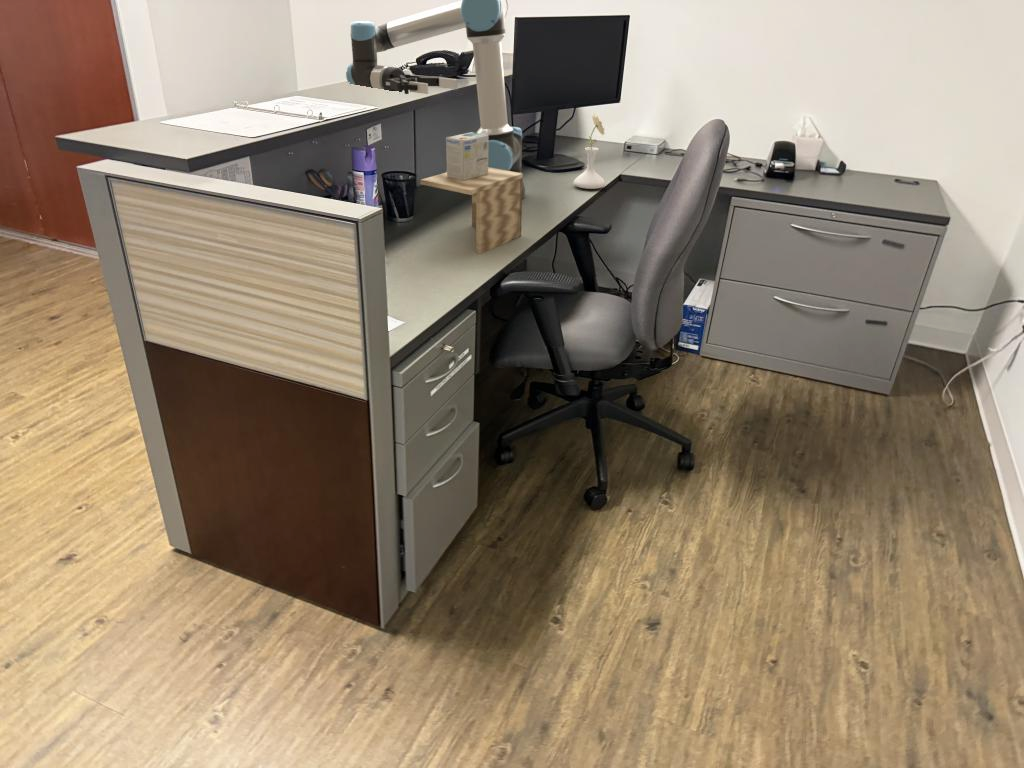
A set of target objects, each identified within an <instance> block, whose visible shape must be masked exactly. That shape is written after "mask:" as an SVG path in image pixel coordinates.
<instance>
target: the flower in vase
mask: <svg viewBox="0 0 1024 768" xmlns="http://www.w3.org/2000/svg"><path fill="white" fill-rule="evenodd" d="M591 118H592V121H593V123H594V127H593V129H592V131H591V134H590V135H589V136H588V137H589V140H590V141H589V145H590V147H589V146H588V147H585V148H584V150H585V152H586V155H587V166H586V169H585V170H584V171H583V172H581V174H579V175H578V176H577V177H576V178H574V181H573V184H574V185H575V186H576V187H578V188H581V189H586V190H596V189H601V188H603V187H604V186H605V185H606V182H605V180H604V179H603V177H601V176H600V174H598V173H597V172H596V170H595V157H596V155H597V152H598V151H599V150H600V148H598V147H593V144H595V143H597V140H596V139H594V140H593V141H592V135H593V133H594V131H595V129H597V131H598V132H599V134H601V135H602V136H604V135H605V134H606V132H605V127H604V126H603V125H602V121H601V120H600V119H599V117H598V115H595V114H594V113H593V114H592V116H591Z"/></svg>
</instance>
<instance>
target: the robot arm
mask: <svg viewBox="0 0 1024 768" xmlns="http://www.w3.org/2000/svg"><path fill="white" fill-rule="evenodd" d="M508 12H509V0H460V1H457V2H453V3H449V4H447V5H442V6H440V7H436V8H433V9H429V10H425V11H422V12H419V13H415V14H411V15H409V16H406V17H402V18H398V19H396V20H395V19H394V20H392V21H389V22H385V23H381V24H379V25H376V24H375V22H373V21H360V20H359V21H353V22H351V23H350V39H351V42H350V43H351V52H352V63H350V64H348V66H347V68H346V69H347V70H346V72H345V77H346V80H347V83H348V82H350V83H348V84H349V85H350V84H354V85H360V86H366V87H371V88H378V89H384V90H389V91H399V92H401V93H402V92H403V91H404V95H409V93H410V92H411V93H417V94H423V95H425V94H426V95H428V94H429V87H439V88H443V89H449V90H450V89H452V90H458V78H457V79H456V78H450V77H449V78H448V77H445V76H443V74H440V75H439V76H433V75H431V76H429V75H417V74H413V75H412V74H409V73H408V74H405V71H404V70H402V69H401V68H400V67H396V66H395V67H394V66H389V65H388V66H387V65H378V53H382V52H385V51H388V50H391V49H394V48H397V47H401V46H404V45H409V44H413V43H416V42H418V41H424V40H426V39H430V38H434V37H437V36H440V35H444V34H447V33H451V32H454V31H458V30H462V29H465V32H466V39H467V40H469V42H470V43H471V44H472V51H473V52H472V53H473V61H474V70H475V80H476V81H475V82H476V91H477V101H478V102H477V103H478V114H479V121H480V124H479V125H480V127H479V128H478V129H477V131H476V133H479V134H486V135H489V136H488V167H491V168H496V169H501V170H507V171H512V172H518V173H522V153H523V147H522V146H523V130H522V128H521V127H518V126H510V125H509V122H508V121H509V120H508V111H507V99H506V85H505V84H506V83H505V73H504V62H503V61H504V60H503V50H502V47H503V46H502V41H503V38H504V37H505V36H506V23H505V22H506V21H505V20H506V17H507V15H508V14H509V13H508ZM525 198H526V187H525V183H524V182H523V186H522V199H525Z"/></svg>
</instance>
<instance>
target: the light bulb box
mask: <svg viewBox="0 0 1024 768" xmlns="http://www.w3.org/2000/svg"><path fill="white" fill-rule="evenodd" d="M488 136H489V135H486V134H479V133H477V132H473V131H469V132H465V133H462V134H457V135H453V136H451V135H450V136H446V137H445V143H446V144H445V146H446V147H445V149H446V153H445V154H446V172H447V177H450V178H454V179H459V180H463V181H464V180H467V179H471V178H475V177H479V176H482V175H486V174H488Z"/></svg>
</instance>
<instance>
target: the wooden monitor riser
mask: <svg viewBox="0 0 1024 768" xmlns="http://www.w3.org/2000/svg"><path fill="white" fill-rule="evenodd" d="M523 179H524V173H522V172H521V173H518V172H512V171H507V170H501V169H496V168H491V167H488V174H486V175H482V176H479V177H475V178H471V179H467V180H464V181H463V180H459V179H454V178H450V177H447V171H445V172H442V173H440V174H436V175H432V176H429V177H425V178H421V179H420V181H419V182H420V183H419V184H420V185H422V186H428V187H432V188H437V189H441V190H446V191H450V192H455V193H460V194H465V195H469V196H471V227H475V228H476V229H475V233H476V234H475V237H476V238H475V239H476V240H475V241H476V242H475V246H476V247H475V253H476V254H482V253H485V252H487V251H490V250H492V249H494V248H496V247H498V246H501V245H503V244H506V243H508V242H510V241H513V240H514V238H515V239H517V238H520V237H521V236H522V214H523V212H522V211H523V198H522V186H523V183H524V180H523ZM519 236H520V237H519ZM512 239H513V240H512Z"/></svg>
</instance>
